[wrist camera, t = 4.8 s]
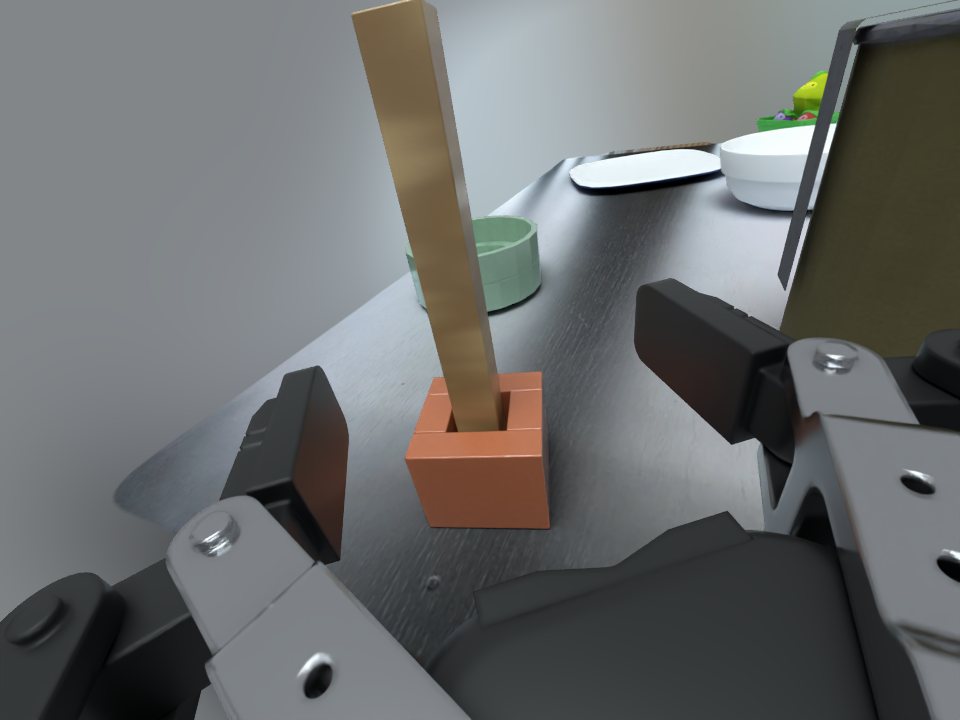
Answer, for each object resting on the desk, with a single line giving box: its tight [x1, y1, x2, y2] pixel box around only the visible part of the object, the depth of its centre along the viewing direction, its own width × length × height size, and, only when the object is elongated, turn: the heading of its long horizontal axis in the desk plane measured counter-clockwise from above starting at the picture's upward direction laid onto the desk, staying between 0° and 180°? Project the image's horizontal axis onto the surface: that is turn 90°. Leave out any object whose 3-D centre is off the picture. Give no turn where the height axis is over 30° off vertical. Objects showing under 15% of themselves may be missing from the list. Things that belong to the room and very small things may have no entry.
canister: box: [778, 0, 960, 358], centre depth 18 cm, size 11×10×20 cm
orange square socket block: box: [405, 371, 550, 529], centre depth 21 cm, size 6×6×5 cm
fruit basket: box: [757, 71, 840, 133], centre depth 73 cm, size 11×9×11 cm
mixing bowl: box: [405, 215, 541, 312], centre depth 42 cm, size 13×13×6 cm
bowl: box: [720, 124, 836, 211], centre depth 49 cm, size 18×18×7 cm
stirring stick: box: [351, 0, 507, 432], centre depth 17 cm, size 2×2×20 cm
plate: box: [570, 149, 721, 189], centre depth 76 cm, size 25×25×2 cm
